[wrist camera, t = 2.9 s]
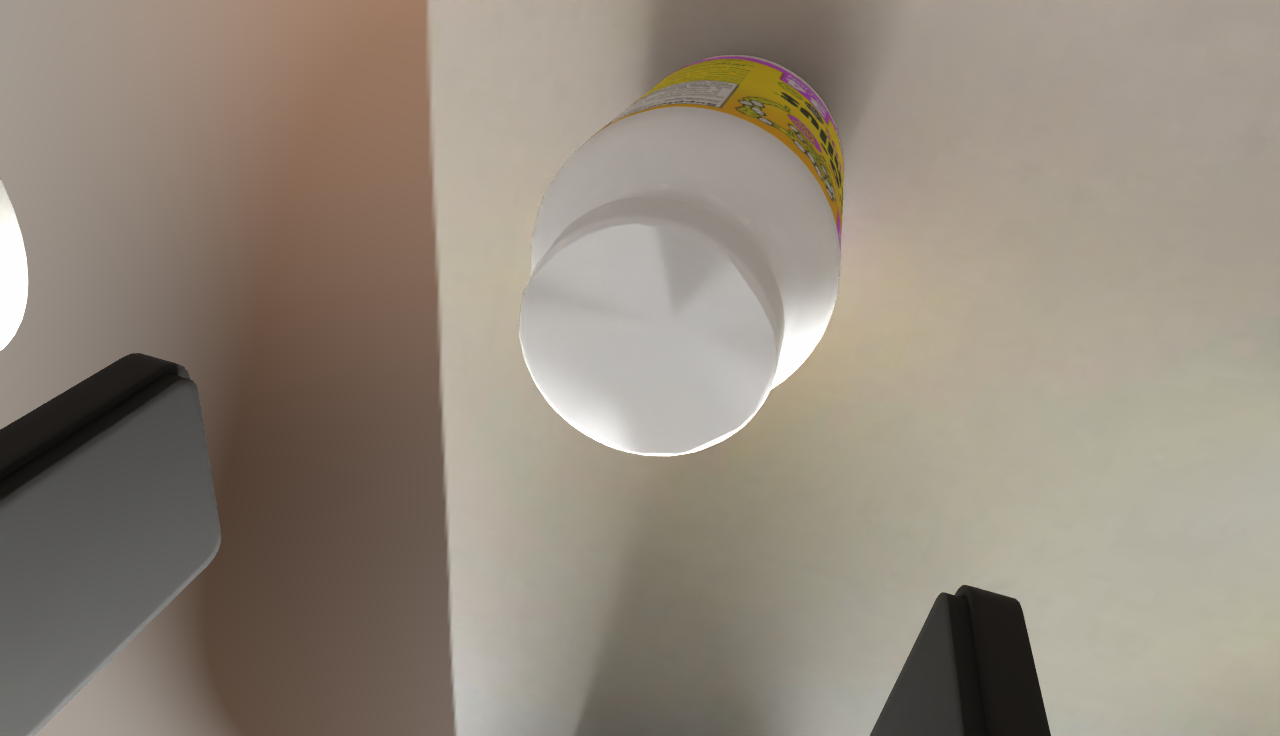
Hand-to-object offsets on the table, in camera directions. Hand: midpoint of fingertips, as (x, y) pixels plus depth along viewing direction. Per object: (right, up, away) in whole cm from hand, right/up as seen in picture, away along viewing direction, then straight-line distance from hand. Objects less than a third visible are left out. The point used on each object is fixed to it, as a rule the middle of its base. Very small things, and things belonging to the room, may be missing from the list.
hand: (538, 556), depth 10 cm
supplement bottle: (+4, +9, +15) cm, 18 cm away
